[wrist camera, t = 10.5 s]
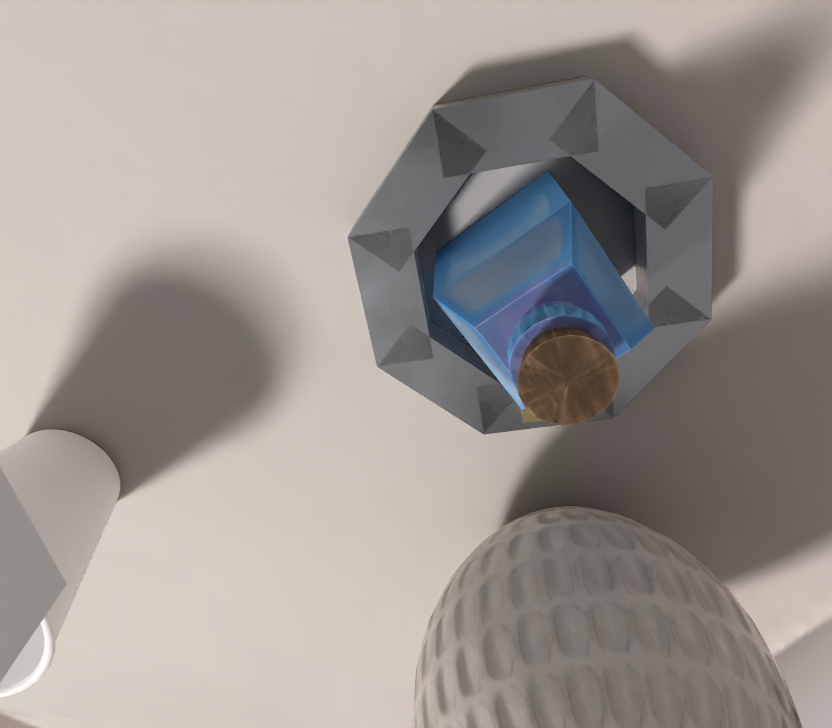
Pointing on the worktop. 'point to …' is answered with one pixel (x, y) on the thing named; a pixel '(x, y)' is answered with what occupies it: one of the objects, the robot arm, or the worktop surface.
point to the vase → (593, 635)
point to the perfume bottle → (541, 304)
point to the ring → (515, 145)
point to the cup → (58, 525)
